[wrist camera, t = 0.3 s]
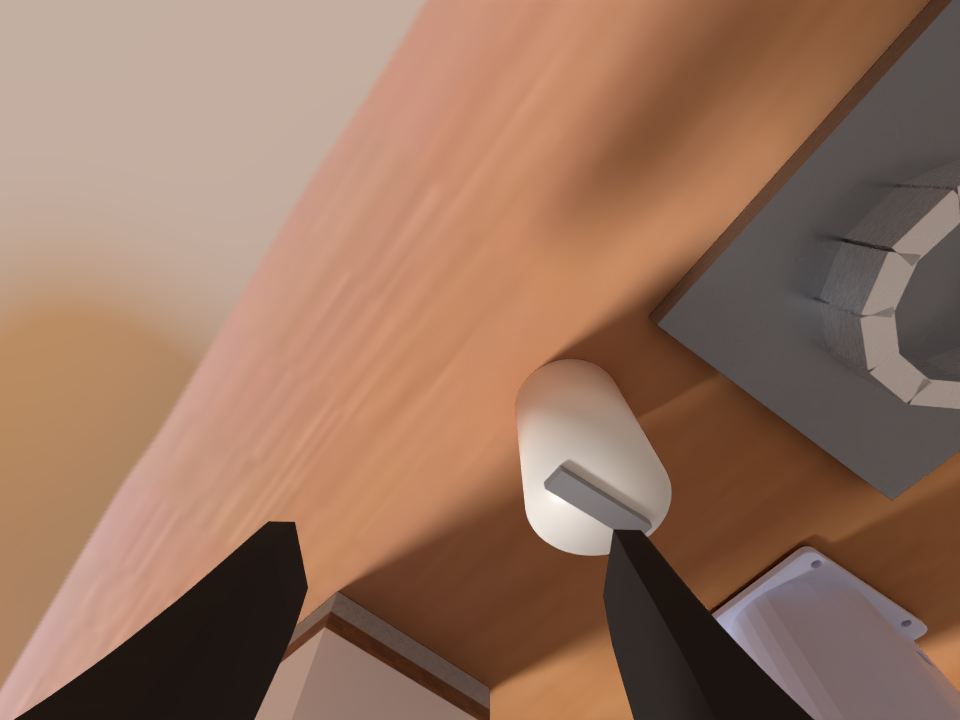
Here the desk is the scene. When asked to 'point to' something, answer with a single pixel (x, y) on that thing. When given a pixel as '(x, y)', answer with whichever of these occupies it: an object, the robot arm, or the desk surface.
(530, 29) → the desk surface
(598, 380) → the cylinder
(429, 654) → the tall hollow white pillar
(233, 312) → the desk surface
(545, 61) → the desk surface
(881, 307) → the duct base
